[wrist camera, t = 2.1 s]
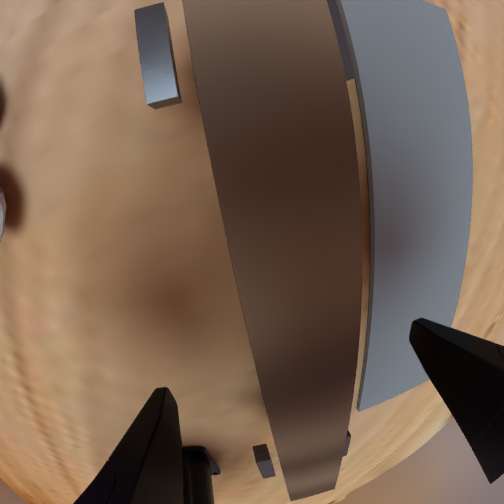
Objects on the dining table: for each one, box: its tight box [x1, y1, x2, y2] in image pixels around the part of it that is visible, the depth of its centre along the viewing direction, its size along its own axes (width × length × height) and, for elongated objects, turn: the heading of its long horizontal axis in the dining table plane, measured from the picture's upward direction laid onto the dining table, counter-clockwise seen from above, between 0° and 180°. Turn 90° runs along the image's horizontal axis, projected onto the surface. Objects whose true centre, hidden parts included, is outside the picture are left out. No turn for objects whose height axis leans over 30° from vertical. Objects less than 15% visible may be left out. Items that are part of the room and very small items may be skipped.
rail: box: [182, 0, 362, 501], centre depth 9 cm, size 26×3×3 cm, turn 9°
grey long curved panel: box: [336, 0, 473, 411], centre depth 16 cm, size 32×9×1 cm, turn 10°
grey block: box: [134, 0, 355, 114], centre depth 8 cm, size 3×6×6 cm, turn 100°
